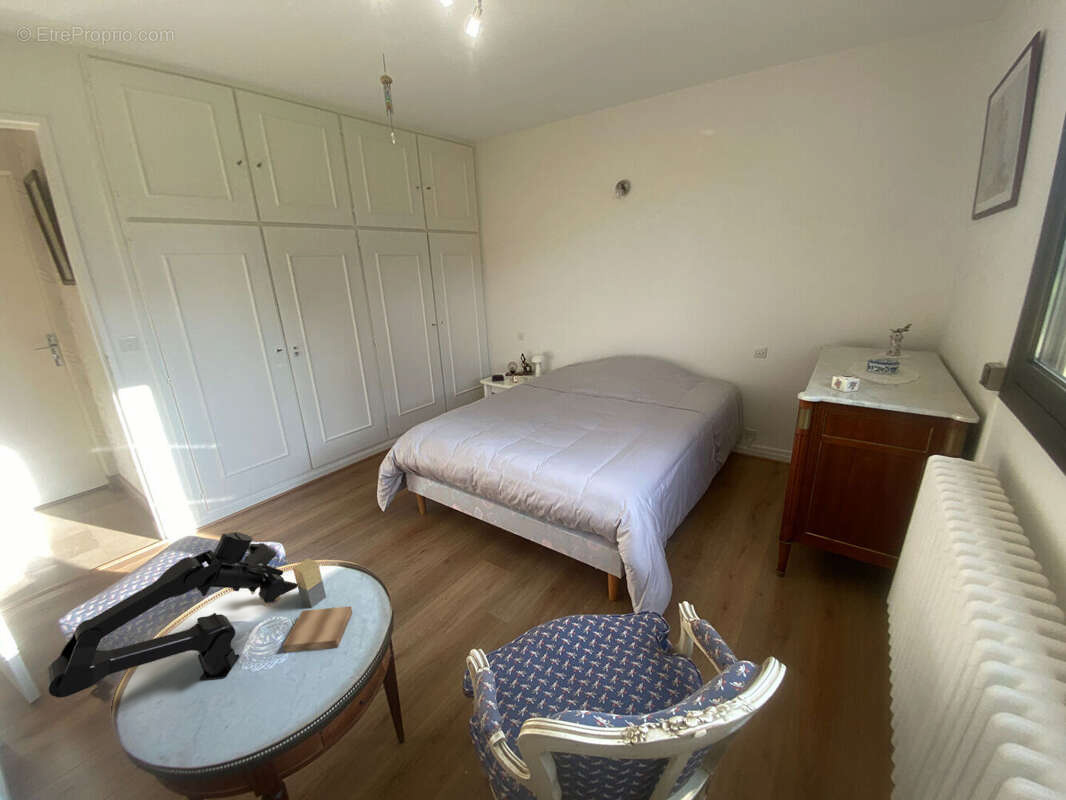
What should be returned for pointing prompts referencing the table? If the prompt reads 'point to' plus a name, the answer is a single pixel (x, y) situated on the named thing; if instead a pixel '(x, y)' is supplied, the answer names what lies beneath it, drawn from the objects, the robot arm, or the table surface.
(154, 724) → the table surface
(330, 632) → the walnut plinth
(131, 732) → the table surface
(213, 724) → the table surface
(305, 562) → the yellow grey tall block
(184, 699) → the table surface
